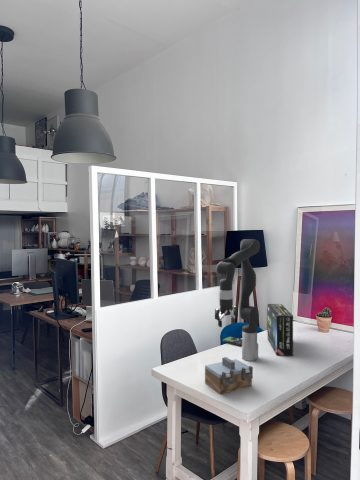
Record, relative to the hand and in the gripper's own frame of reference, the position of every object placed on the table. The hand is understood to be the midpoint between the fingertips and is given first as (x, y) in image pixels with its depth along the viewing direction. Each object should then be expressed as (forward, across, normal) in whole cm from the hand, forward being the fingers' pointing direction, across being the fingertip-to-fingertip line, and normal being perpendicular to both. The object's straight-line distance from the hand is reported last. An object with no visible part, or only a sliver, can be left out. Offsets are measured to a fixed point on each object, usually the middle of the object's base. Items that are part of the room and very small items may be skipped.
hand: (226, 325), depth 205 cm
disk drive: (+29, -35, -40) cm, 61 cm away
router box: (+29, -57, -18) cm, 67 cm away
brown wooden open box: (+26, +10, +15) cm, 32 cm away
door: (+18, +9, +14) cm, 25 cm away
